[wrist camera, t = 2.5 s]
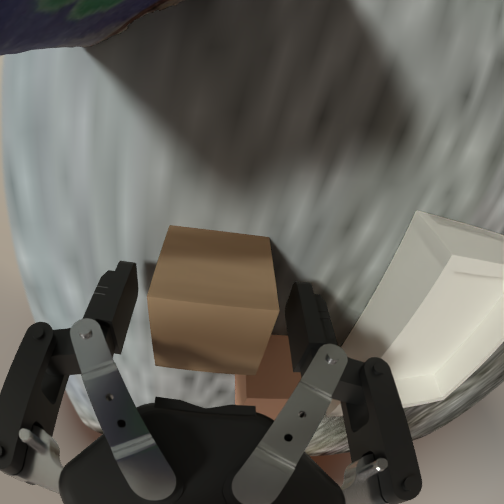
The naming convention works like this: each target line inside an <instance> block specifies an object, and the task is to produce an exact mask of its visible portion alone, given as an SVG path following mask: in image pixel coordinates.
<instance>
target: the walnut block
mask: <svg viewBox="0 0 504 504" xmlns="http://www.w3.org/2000/svg"><path fill="white" fill-rule="evenodd" d="M147 301H148V311H149V321H150V329H151V337H152V345H153V352H154V359H155V366H162V367H169V368H177V369H185V370H193V371H203V372H213V373H225V374H239V375H256V373H257V370H258V368H259V365H260V362H261V360H262V357H263V354H264V352H265V349H266V346H267V344H268V341H269V338H270V336H271V333H272V330H273V327H274V325H275V322H276V319H277V316H278V313H279V303H278V296H277V289H276V281H275V274H274V267H273V260H272V253H271V246H270V239H269V237H263V236H255V235H247V234H239V233H231V232H223V231H214V230H206V229H198V228H189V227H181V226H172V225H170V226H169V229H168V232H167V235H166V237H165V240H164V243H163V246H162V250H161V253H160V256H159V259H158V262H157V265H156V268H155V271H154V275H153V278H152V281H151V285H150V288H149V291H148V295H147Z"/></svg>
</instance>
